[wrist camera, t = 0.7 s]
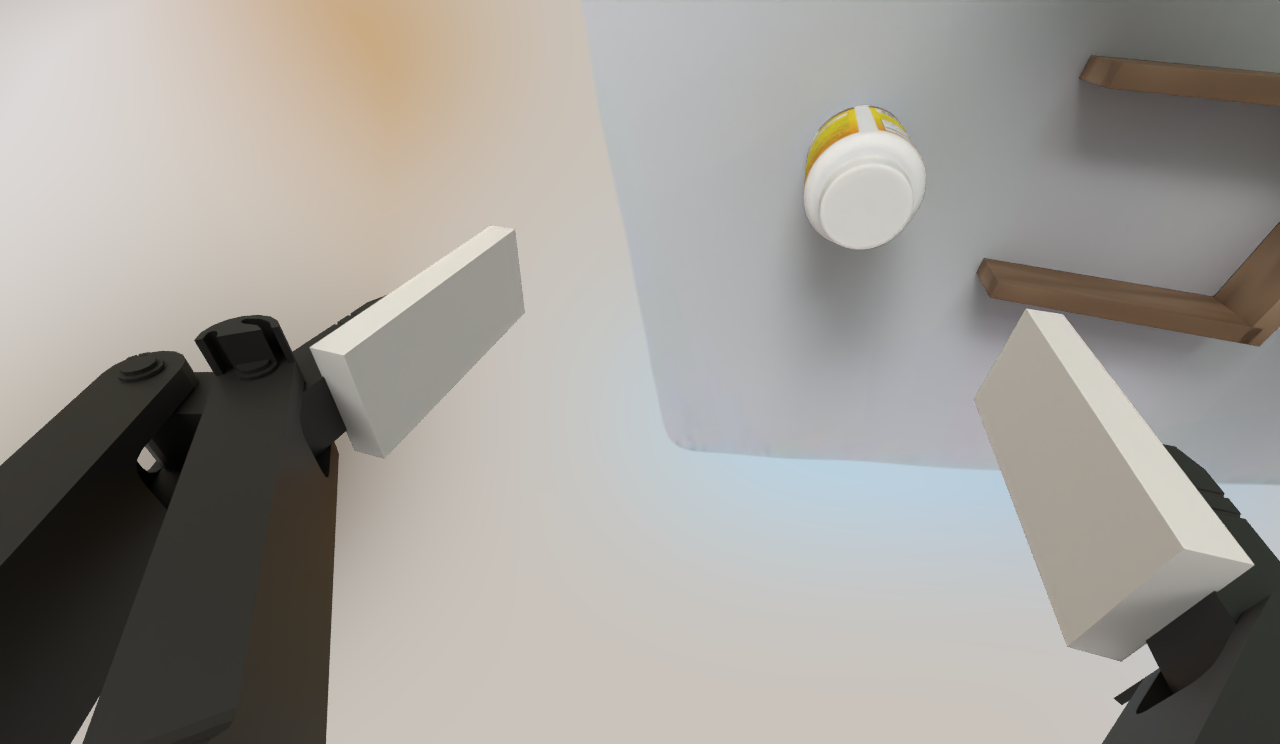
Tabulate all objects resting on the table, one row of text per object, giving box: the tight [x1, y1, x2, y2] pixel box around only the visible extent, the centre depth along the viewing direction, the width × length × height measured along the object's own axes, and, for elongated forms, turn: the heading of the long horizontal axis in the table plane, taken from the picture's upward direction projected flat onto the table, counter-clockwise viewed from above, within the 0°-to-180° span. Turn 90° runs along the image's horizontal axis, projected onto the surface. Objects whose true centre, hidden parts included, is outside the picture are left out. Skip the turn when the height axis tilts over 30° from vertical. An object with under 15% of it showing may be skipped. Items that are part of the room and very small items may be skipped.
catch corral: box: [977, 55, 1280, 346], centre depth 26 cm, size 12×14×4 cm
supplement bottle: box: [804, 105, 926, 250], centre depth 27 cm, size 6×6×10 cm
